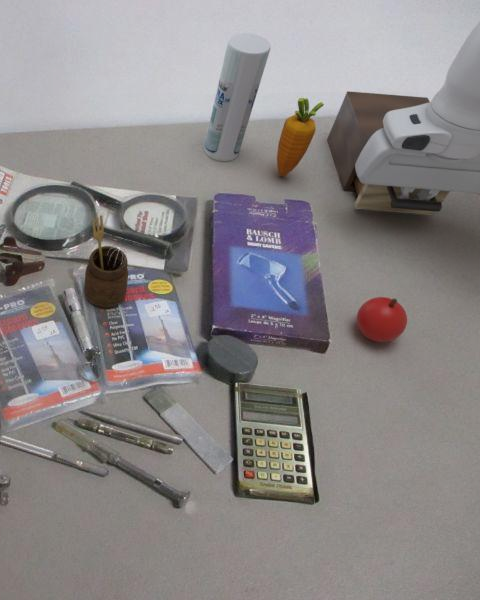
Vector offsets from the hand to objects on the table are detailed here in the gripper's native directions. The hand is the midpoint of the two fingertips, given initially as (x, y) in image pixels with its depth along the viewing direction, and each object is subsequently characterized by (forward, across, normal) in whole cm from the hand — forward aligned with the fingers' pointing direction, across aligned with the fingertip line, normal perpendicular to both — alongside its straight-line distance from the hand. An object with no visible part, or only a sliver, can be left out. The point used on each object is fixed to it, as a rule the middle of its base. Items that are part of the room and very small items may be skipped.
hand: (407, 206), depth 92 cm
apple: (+4, +9, +23) cm, 25 cm away
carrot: (+4, +17, -10) cm, 20 cm away
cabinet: (+4, 0, -15) cm, 16 cm away
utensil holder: (+4, +46, +20) cm, 50 cm away
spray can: (+4, +27, -16) cm, 32 cm away
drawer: (+3, 0, -7) cm, 8 cm away
